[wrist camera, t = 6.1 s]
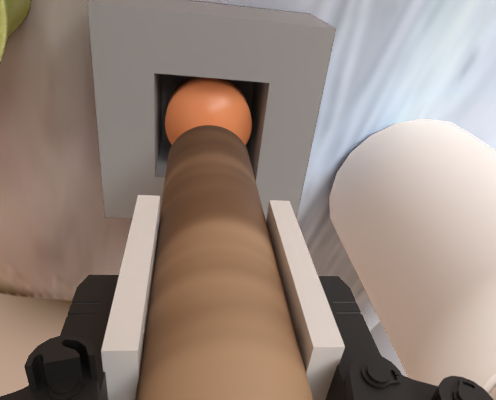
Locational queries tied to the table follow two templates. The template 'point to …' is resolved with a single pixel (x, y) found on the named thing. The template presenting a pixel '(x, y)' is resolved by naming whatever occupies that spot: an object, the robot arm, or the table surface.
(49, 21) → the table surface
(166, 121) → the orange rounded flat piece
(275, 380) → the dowel
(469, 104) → the table surface
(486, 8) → the table surface
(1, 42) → the plant pot
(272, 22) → the box
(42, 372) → the robot arm
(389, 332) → the can
